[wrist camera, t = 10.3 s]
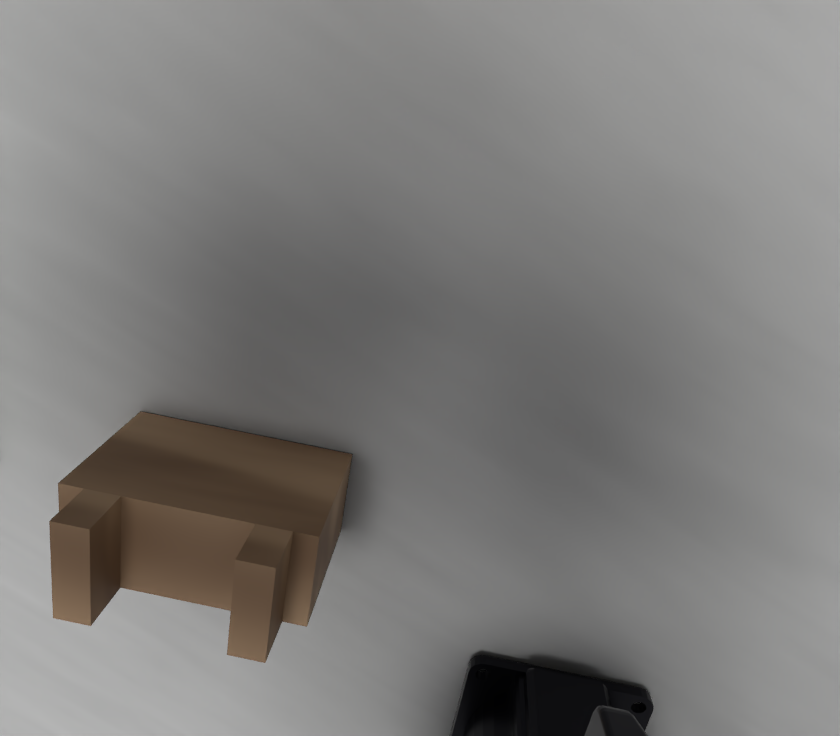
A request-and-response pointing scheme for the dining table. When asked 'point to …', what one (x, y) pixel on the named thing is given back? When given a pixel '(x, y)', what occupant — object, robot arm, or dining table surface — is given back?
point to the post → (200, 525)
